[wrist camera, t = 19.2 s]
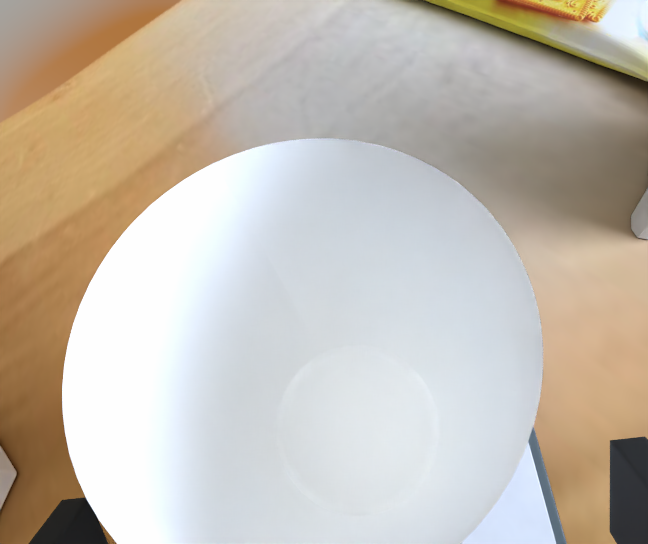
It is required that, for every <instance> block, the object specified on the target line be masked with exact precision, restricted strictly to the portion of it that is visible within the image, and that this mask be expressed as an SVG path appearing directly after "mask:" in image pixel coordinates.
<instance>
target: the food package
mask: <svg viewBox="0 0 648 544" xmlns="http://www.w3.org/2000/svg"><path fill="white" fill-rule="evenodd" d="M425 1H427V2H430V3H433V4H436V5H439V6H442V7H445V8H448V9H450V10H453V11H456V12H459V13H462V14H465V15H467V16H470V17H473V18H476V19H478V20H481V21H484V22H486V23H489V24H492V25H494V26H497V27H500V28H502V29H505V30H508V31H511V32H514V33H516V34H519V35H522V36H525V37H528V38H530V39H533V40H536V41H538V42H541V43H544V44H546V45H549V46H552V47H554V48H557V49H559V50H562V51H564V52H567V53H570V54H572V55H575V56H578V57H580V58H583V59H586V60H588V61H591V62H594V63H596V64H599V65H602V66H605V67H608V68H610V69H613V70H616V71H619V72H622V73H625V74H628V75H631V76H634V77H637V78H639V79H642V80H644V81H647V82H648V0H425Z"/></svg>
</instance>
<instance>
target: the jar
mask: <svg viewBox="0 0 648 544" xmlns="http://www.w3.org/2000/svg"><path fill="white" fill-rule="evenodd" d="M16 475H17V472H16V470H15V469H14V467H13V465H12V464H11V462H10V460H9V459H8V457H7V455H6V454H5V452H4V451H3V449H2V447H1V446H0V510H1V508H2V505H3V503H4V501H5V499H6V497H7V495H8V492H9V490H10V488H11V486H12V484H13V482H14V479H15V477H16Z"/></svg>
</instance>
